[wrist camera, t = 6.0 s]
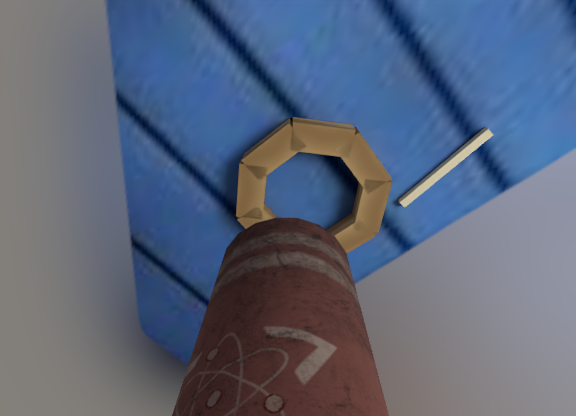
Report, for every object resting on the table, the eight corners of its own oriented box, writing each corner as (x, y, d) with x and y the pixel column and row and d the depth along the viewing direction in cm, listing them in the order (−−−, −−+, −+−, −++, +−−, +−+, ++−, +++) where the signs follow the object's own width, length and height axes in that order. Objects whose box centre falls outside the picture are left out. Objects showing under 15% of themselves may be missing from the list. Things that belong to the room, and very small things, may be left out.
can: (208, 300, 18) (8, 905, 5) (245, 194, 16) (35, 857, 3) (317, 332, 19) (368, 922, 6) (369, 236, 16) (637, 899, 4)
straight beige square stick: (402, 204, 35) (404, 207, 35) (397, 199, 35) (399, 202, 34) (490, 133, 32) (493, 134, 31) (485, 127, 32) (488, 128, 31)
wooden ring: (245, 110, 31) (242, 115, 30) (398, 130, 32) (404, 136, 30) (236, 243, 38) (233, 253, 36) (365, 257, 38) (368, 268, 36)
